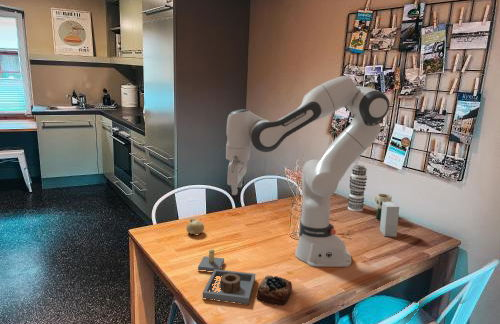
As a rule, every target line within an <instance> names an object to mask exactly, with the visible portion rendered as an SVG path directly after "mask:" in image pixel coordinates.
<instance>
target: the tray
mask: <svg viewBox="0 0 500 324" xmlns="http://www.w3.org/2000/svg"><path fill="white" fill-rule="evenodd" d="M227 273H228V274H229V273H233V274H235V275H236V274H237V275H238V276H240V289H239V290H238V292H235V293H225V292H223V291H222V290H221V289H220V290H221V291H220V292H218V291H216V292H214V291H215V289H216V288H214V290H212V288H213V286H214V285H213V286H212V284H214V283H215V281H216V280H214V279H216V278H215V277H216V276H220V277H221V276H223V275H224V274H227ZM218 280H219V279H218ZM218 282H219V281H217V282H216V283H218ZM254 282H256V273H254V272H253V273H252V272H244V271H243V272H242V271H234V270H225V269H221V270H217V269H214V271H213V273H211V275H210V276H209V279H208V281H207V283H206V285H205V287H204V288H203V291H202V299H203V298H206V299H213V300H214V299H215V300H220V301H228V302H235V303H241V304H240V305H242V304H249V305H250V302H251V298H250V297H252V294H253V289H254V287H253V286H255V283H254ZM220 283H221V281H220ZM215 286H216V287H217V284H216V285H215ZM219 288H220V284H219ZM209 290H210V292H209ZM217 292H218V293H217ZM249 301H250V302H249Z"/></svg>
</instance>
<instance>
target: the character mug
mask: <svg viewBox="0 0 500 324" xmlns="http://www.w3.org/2000/svg"><path fill="white" fill-rule="evenodd" d="M392 198H393V197H392V195H391V194H387V193H378V194H377V195H376V196H375V199H374V202H375V203H376V204H375V205H376V207H377V211H376V213H375V219H378V220H380V221H381V211H382V202H393V201H392Z"/></svg>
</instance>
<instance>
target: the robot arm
mask: <svg viewBox="0 0 500 324" xmlns="http://www.w3.org/2000/svg"><path fill="white" fill-rule="evenodd" d="M302 97H303V98H302V102H301V103H300V105H299V106H297V108H296V109H295V110H293V111H291V112H289V113H287V114H286V115H284V116H283V117H280V118H279V119H277V120H274V121H270V120H268V119H266V118H262V117H261V116H258V115H256V114H255V113H253V112H252V111H251V110H250V109H248V108H247V109H246V108H244V109H242V108H241V109H236V110H233V111H231V112H229V114H228V116H227V119H226V121H227V122H226V137H227V140H226V144H225V146H226V147H225V159H226V160H227V161H228V163H229V164H228V165H227V177H226V179H227V180H226V182H227V185H228V186H230V188H231V194H232V196H236V195H238V188H242V187H243V181H244V176H245V175H246V173H247V170H248V164H249V160H250V159H251V145H253V147H254V148H255V149H256V150H258V151H259V152H262V153H270V152H273V151H275V150H276V149H277V148H279V146H280V145H281V144H282V142H283V141H285V139H286V138H287V137H289V136H290V135H292V134H294V133H296V132H297V131H299V130H300V129H302V128H304V127H306V126H307V125H308V124H311V123H313V122H315V121H317V120H320V119H322V118H325V117H327V116H329V115H331V114H333V113H335V112H337V111H338V110H340V109H342V108H345V109H346V110H347V111H348V112H350V113H351V114H353V119H352V121H351V122H350V124H349V125H348V126H347V127H346V128H345V129H344V130H343V131H342V132H341V133H340V134H339V135H338V136H337V137H336V138H335V139H334V140H333V141H332V142H331V143H330V144H329V145H328V147H327V150H326V152H324V154H323V156H322V158H320V159H315V158H313V159H310V160H309V159H308V160H307V161H306V162H305V163H304V164H303V166H302V170H301V194H302V195H301V199H302V202H301V203H302V205H301V220H300V223H299V230H298V233H299V239H298V243H297V245H296V248H295V252H294V254H295V256H296V258H297V259H298V260H300V261H302V262H304V263H307V264H308V265H309V266H310V267H324V268H325V267H330V268H331V267H332V268H333V267H339V268H343V267H345V268H348V267H350V266H351V264H352V256H351V253H350V252H349V251H348V250H347V247H346V244H345V243H344V240H342V239H341V237H339V236H338V235H337V234H336V233H337V232H336V229H335V227H334V225H333V223H332V222H331V223H330V215H331V201H330V196H331V195H333V194H334V193H335V192H336V191H337V189H338V186H339V183H340V181H341V180H342V179H343V177H344V176H345V174H346V172H347V171H348V170H349V168H350V167H351V165H353V163H354V162H356V160H357V159H359V157H360V156H362V154H364V152H366V150H367V149H368V148H369V147H370V146H371V145H372V144H373V142H374V141H375V140H376V139H377V137H378V135H379V134H380V132H381V124H380V123H382V122H383V121H384V118H385V117H386V116H387V114H388V112H389V110H390V105H391V104H390V99H389V97H388V96H387V95H386V94H385V93H383V92H382V91H380V90H377V89H375V88H373V87H369V86H363V85H361V84H356V83H355V81H354V80H353V79H352V78H351V77H349V76H346V75H342V76H338V77H335V78H332V79H330V80H327V81H325V82H323V83H321V84H318V86H315V87H314V88H312V89H311V90H310V91H308V92H307V93H305V94H304V96H302Z"/></svg>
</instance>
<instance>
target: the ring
mask: <svg viewBox="0 0 500 324" xmlns="http://www.w3.org/2000/svg"><path fill="white" fill-rule="evenodd" d="M220 288H221V290H222V291H223V292H225V293H235V292H238V290H239V289H240V276H238V275H237V274H236V275H235V274H233V273H229V274H228V273H227V274H224V275H223V276H222V277H221V283H220Z"/></svg>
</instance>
